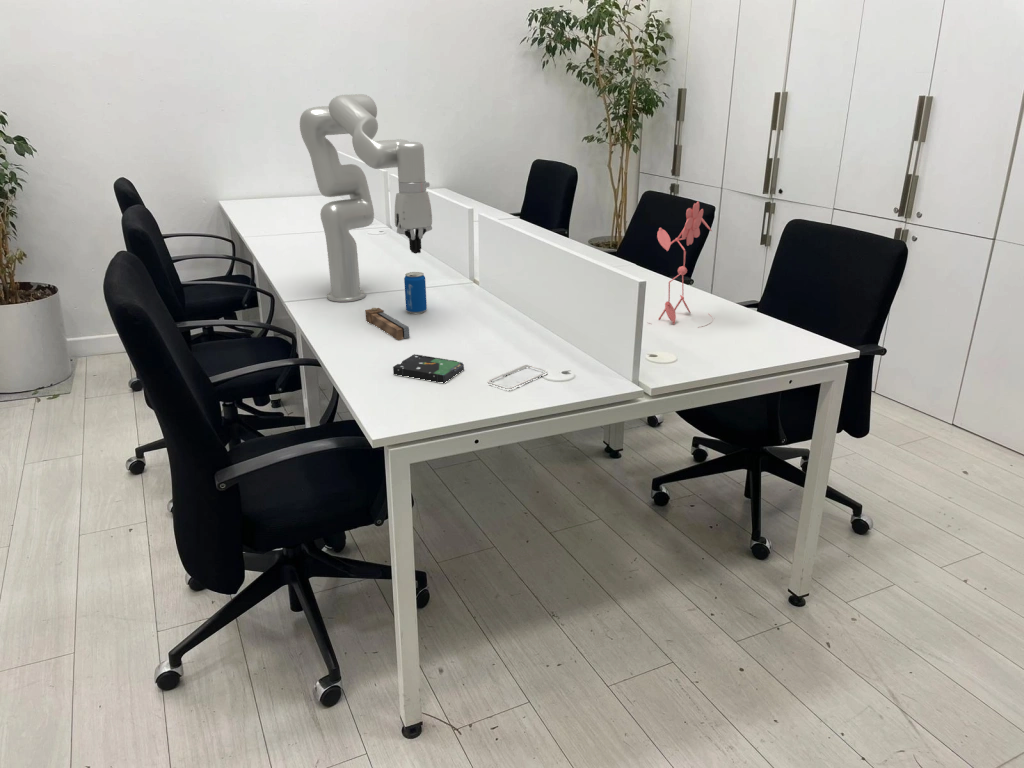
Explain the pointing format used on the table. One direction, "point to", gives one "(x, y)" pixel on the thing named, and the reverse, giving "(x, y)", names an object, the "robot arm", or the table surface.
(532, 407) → the table surface
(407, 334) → the long gray metal bar
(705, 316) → the table surface
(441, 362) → the disk drive
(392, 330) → the brown bar with block
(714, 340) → the table surface
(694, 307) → the table surface
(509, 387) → the phone case
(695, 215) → the figurine
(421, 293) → the beverage can
